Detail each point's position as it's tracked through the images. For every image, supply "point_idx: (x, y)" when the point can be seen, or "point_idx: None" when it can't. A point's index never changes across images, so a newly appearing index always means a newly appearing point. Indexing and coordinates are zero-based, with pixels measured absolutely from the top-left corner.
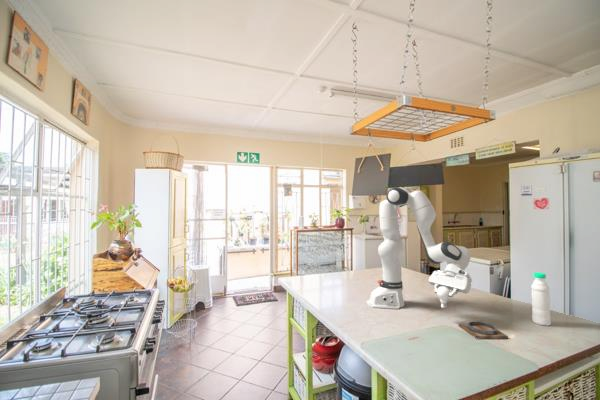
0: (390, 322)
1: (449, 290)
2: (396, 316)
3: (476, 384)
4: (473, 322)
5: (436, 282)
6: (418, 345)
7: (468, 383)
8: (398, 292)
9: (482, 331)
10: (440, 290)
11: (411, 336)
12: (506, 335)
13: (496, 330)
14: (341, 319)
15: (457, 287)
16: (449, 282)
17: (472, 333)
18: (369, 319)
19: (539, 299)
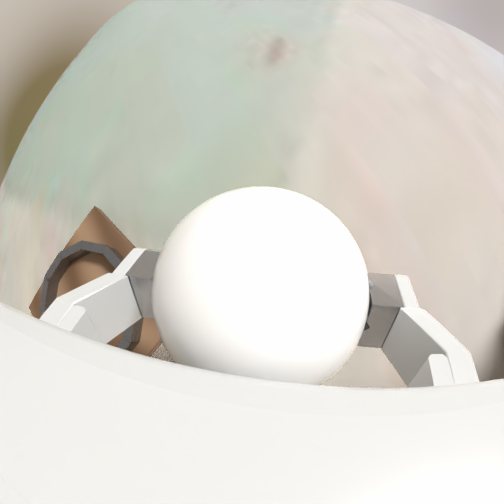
0: (420, 101)
1: (154, 318)
2: (462, 176)
3: (101, 34)
4: (121, 342)
5: (477, 388)
6: (236, 33)
7: (112, 27)
8: None
9: (72, 247)
10: (267, 187)
11: (287, 54)
12: (31, 309)
13: (41, 301)
14: (480, 53)
15: (4, 310)
16: (107, 447)
17: (107, 221)
18: (465, 86)
19: None
